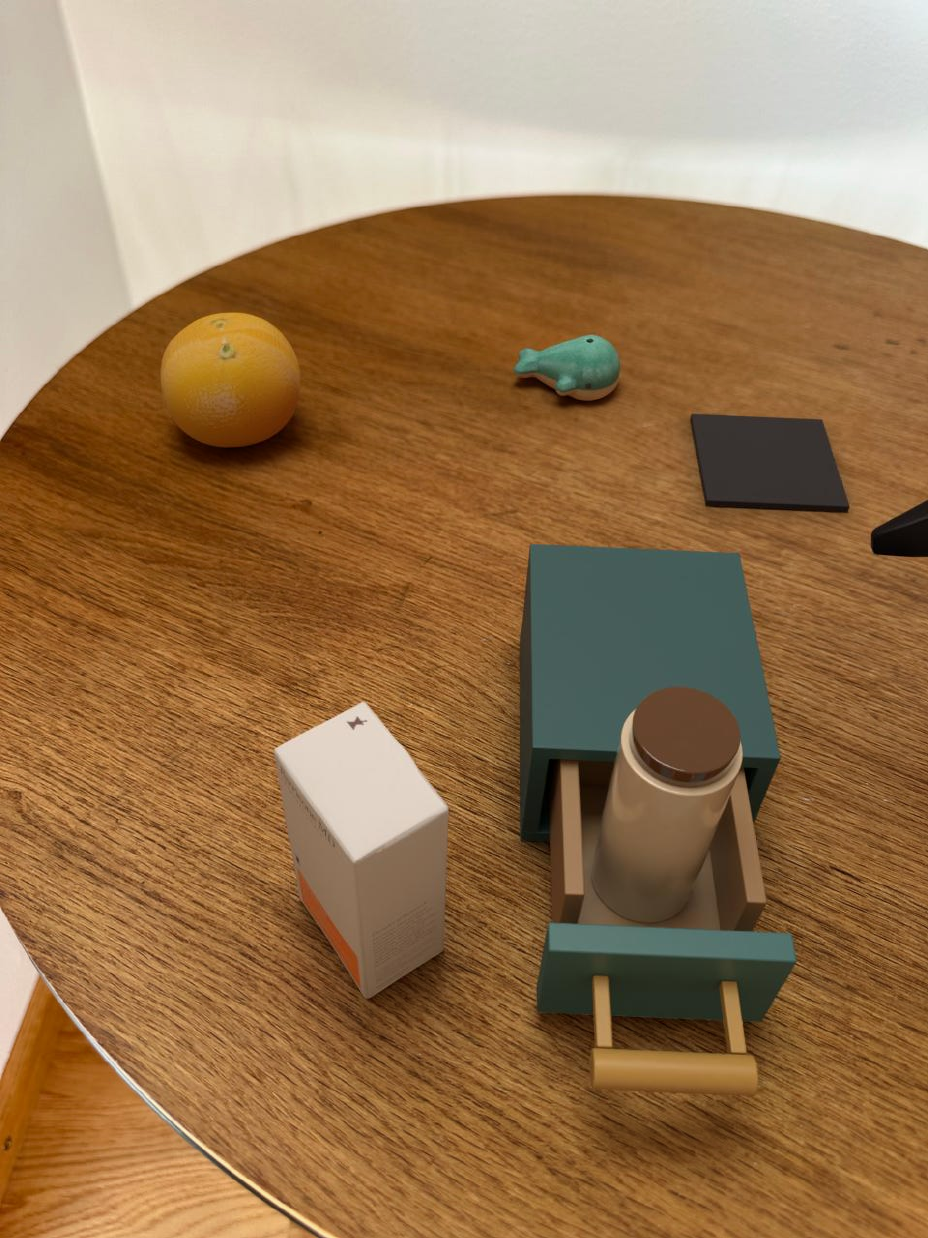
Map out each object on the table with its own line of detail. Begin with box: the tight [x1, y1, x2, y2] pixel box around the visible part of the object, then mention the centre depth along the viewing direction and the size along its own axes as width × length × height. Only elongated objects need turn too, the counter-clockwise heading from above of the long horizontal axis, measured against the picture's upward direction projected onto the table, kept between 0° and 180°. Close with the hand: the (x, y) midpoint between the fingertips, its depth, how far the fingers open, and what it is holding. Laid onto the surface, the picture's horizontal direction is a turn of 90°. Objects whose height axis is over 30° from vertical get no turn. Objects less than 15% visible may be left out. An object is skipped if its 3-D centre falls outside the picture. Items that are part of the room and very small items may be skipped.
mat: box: [689, 413, 850, 513], centre depth 71 cm, size 9×9×1 cm
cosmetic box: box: [273, 701, 450, 1000], centre depth 44 cm, size 6×4×12 cm
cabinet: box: [519, 543, 782, 843], centre depth 53 cm, size 13×11×8 cm
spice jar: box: [591, 687, 743, 923], centre depth 44 cm, size 5×5×11 cm
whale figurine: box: [513, 334, 621, 402], centre depth 75 cm, size 6×7×4 cm
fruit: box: [160, 312, 301, 448], centre depth 69 cm, size 9×8×8 cm
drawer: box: [535, 759, 798, 1097], centre depth 45 cm, size 16×9×6 cm, turn 178°
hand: (903, 625), depth 40 cm, fingers open, 9 cm apart
